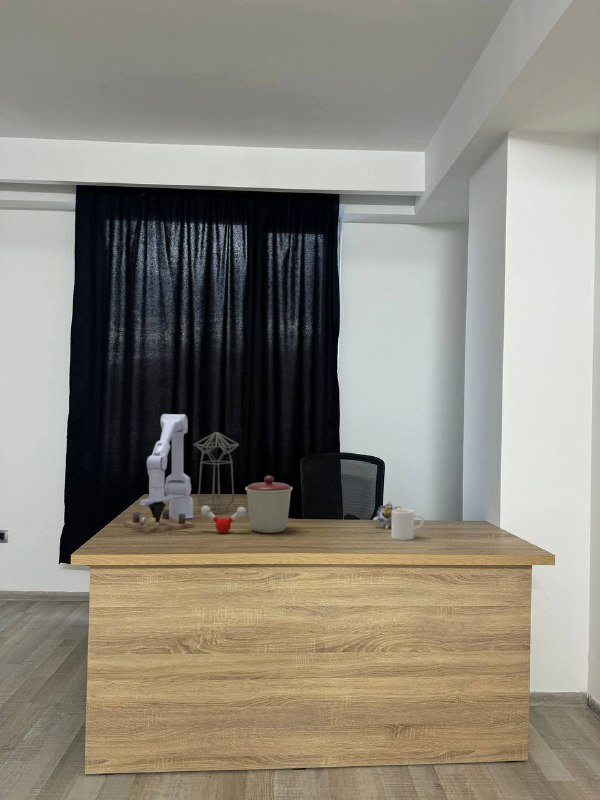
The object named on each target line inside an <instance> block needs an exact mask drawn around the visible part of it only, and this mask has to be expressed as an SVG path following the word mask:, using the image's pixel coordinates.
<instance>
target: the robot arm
mask: <svg viewBox="0 0 600 800" xmlns="http://www.w3.org/2000/svg"><path fill="white" fill-rule="evenodd" d="M188 421H189V420H188V416H187V415H186V414H185V413H182V414H178V413H177V414H173V413H171V414H169V413H163V414H162V415H161V416H160V428H161V430H162V431H161V434H160V438H159V439H160V440H158V441H156V443H155V445H154V447H153V451H152V454H151V455H149V456H147V459H146V468H147V475H148V478H149V479H148V482H149V483H148V493H149V494H148V497H147V498H145V499H140V500H139V506H142V507H144V506H148V508H149V509H150V511H151V514H152V517H156V522H158V523H159V521H160V517H162V515H163V510H164V509H165V507H166V503H167V502H168V503H169V504H168V507H169V508H168V509H169V516H170V517H173V518H177V519H179V514H185V520H186V519H192V518H193V519H194V518H195V516H194V500H193V497H192V496H190V494H191V493H192V492H191V491H192V484H191V478H190V476H188V475H187V474H186V473H185V472H184V435H185V434H187V433H188V430H189V429H188V427H189V426H188V423H189V422H188ZM170 442H171V444H170ZM170 450H171V474H169V475H168V476H167V477H165V471H166V469H167V468H168V467H167V465H168V455H169V452H170ZM165 495H166V496H165Z"/></svg>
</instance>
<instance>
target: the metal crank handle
mask: <svg viewBox="0 0 600 800" xmlns="http://www.w3.org/2000/svg"><path fill="white" fill-rule="evenodd" d="M147 519H149V523H155V522H156V517H153V516H150V517H148V518H147V517H146V516H145V517H140V520H141V524H142V525H144V522H147Z"/></svg>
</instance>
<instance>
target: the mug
mask: <svg viewBox="0 0 600 800" xmlns="http://www.w3.org/2000/svg"><path fill="white" fill-rule="evenodd" d="M415 517H417V518H420V519H421V521H420V523H419V524H418V525H417V526H415ZM425 521H426V520H425V518H424V516H423V515H422V514H420V513H416V514H415V512H414V510H412V509H403V508H400V509H396V510H392V524H391V535H390V536H391V538H392V539H393V540H399V541H411V540H413V539H414V537H415V533H414V532H415V531H416V530H418V529H421V528H422V527H423V526H424V523H425Z"/></svg>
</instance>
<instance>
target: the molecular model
mask: <svg viewBox="0 0 600 800" xmlns="http://www.w3.org/2000/svg"><path fill="white" fill-rule="evenodd" d="M212 512H213V511H212V510H211V508H210V506H208V505H203V506H202V507H201V508H200V513H201V515H203V516H208V517H209V519H211V520H212V521H213V522H214V523H215V528H216V531H218V532H219V533H220V534H226V533H228V532H229V531H230V529H231V524H232V523H233V522H234V521H235V520H237V519H238V518H239V517H241V518H242V517H245V516H246V514H247V512H248V511H247V508H245V507H244V506H238V508H237V509H236V512H235V513H234V514H233V515H231V516H230V517H228V518H224V517H222V518H219V517H218V516H217V515H215V513H212Z"/></svg>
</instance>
